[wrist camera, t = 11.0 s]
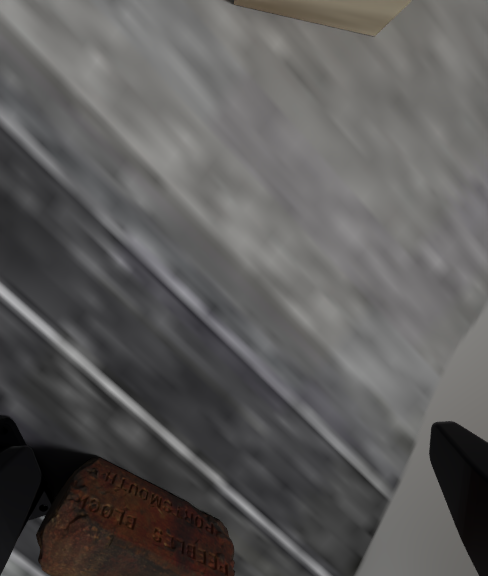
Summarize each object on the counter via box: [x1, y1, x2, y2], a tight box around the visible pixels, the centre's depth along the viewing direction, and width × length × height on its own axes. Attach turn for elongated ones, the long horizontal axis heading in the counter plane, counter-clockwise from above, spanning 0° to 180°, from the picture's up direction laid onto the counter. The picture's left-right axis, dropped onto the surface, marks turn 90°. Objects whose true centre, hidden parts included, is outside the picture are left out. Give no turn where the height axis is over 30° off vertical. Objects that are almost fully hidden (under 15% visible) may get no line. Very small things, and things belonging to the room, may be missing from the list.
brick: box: [36, 457, 235, 576], centre depth 21 cm, size 11×4×5 cm, turn 54°
